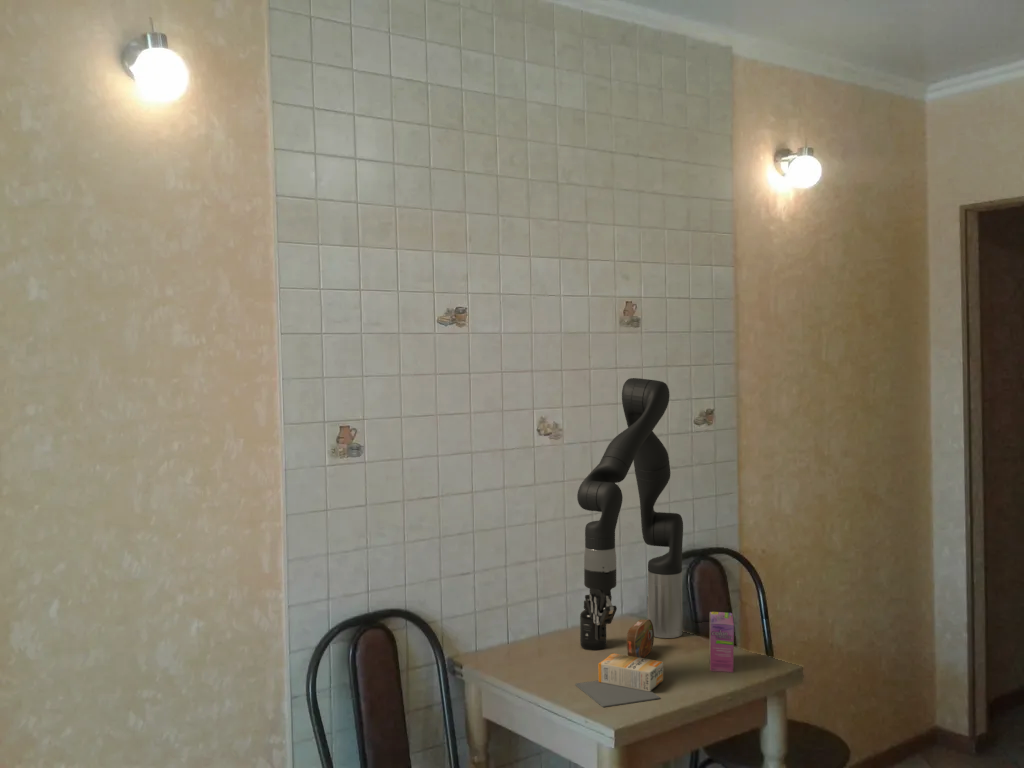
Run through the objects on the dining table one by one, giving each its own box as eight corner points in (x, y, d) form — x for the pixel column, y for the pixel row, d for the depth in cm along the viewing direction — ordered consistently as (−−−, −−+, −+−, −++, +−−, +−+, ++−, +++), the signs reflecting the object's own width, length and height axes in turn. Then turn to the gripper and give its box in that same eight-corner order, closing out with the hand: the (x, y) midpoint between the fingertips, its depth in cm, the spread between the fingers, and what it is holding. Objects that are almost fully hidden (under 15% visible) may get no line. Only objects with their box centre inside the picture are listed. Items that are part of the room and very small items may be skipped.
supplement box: (611, 651, 224) (663, 660, 218) (612, 671, 224) (663, 680, 218) (597, 662, 217) (650, 671, 211) (597, 682, 217) (650, 692, 211)
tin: (636, 665, 230) (636, 631, 230) (624, 663, 232) (624, 630, 231) (655, 648, 244) (655, 616, 243) (643, 646, 245) (643, 614, 245)
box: (734, 673, 224) (734, 624, 224) (709, 671, 225) (709, 623, 225) (732, 659, 234) (732, 612, 234) (709, 658, 235) (709, 611, 235)
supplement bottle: (574, 646, 245) (574, 601, 245) (592, 641, 250) (592, 596, 250) (594, 652, 240) (593, 606, 240) (611, 646, 245) (611, 601, 245)
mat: (575, 684, 217) (575, 683, 217) (629, 677, 222) (629, 676, 222) (603, 707, 203) (603, 706, 203) (660, 698, 207) (660, 697, 207)
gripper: (574, 562, 224) (574, 633, 224) (597, 573, 211) (598, 649, 212) (602, 559, 226) (603, 630, 227) (627, 571, 214) (627, 646, 214)
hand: (600, 639), depth 219 cm, fingers closed
